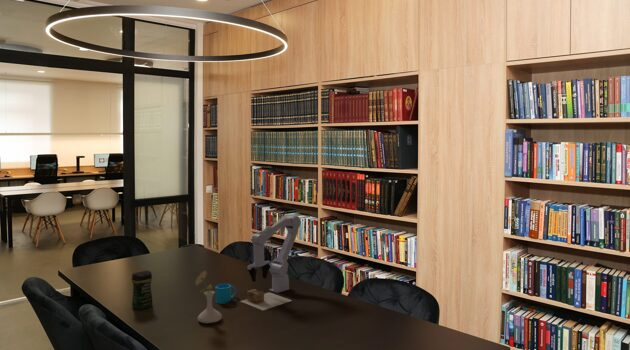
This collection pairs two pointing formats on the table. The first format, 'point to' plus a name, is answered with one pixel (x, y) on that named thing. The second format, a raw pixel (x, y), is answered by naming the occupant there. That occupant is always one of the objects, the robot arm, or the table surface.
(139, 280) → the coffee jar
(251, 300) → the box
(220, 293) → the mug
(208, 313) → the flower in vase
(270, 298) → the card mat
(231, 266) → the table surface
